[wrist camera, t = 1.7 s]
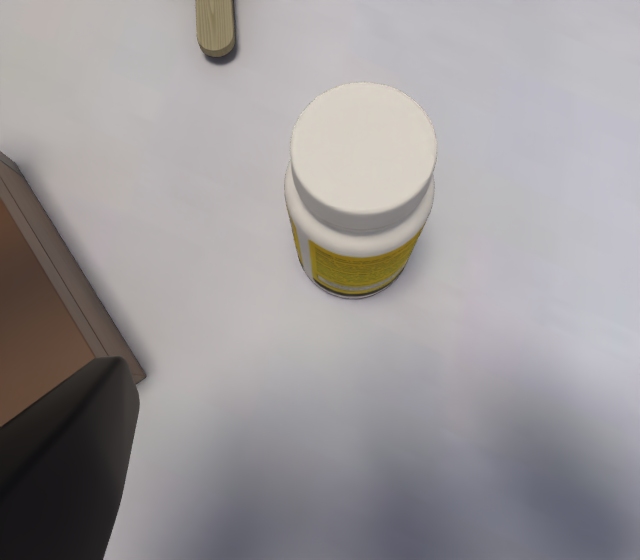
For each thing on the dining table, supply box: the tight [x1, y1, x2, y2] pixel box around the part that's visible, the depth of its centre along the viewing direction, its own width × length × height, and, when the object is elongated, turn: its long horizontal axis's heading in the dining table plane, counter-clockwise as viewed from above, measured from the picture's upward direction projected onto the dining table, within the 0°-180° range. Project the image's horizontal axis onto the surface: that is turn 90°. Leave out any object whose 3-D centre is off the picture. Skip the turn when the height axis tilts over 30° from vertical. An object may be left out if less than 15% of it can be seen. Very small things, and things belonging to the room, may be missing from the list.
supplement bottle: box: [284, 82, 437, 298], centre depth 17 cm, size 5×5×8 cm
